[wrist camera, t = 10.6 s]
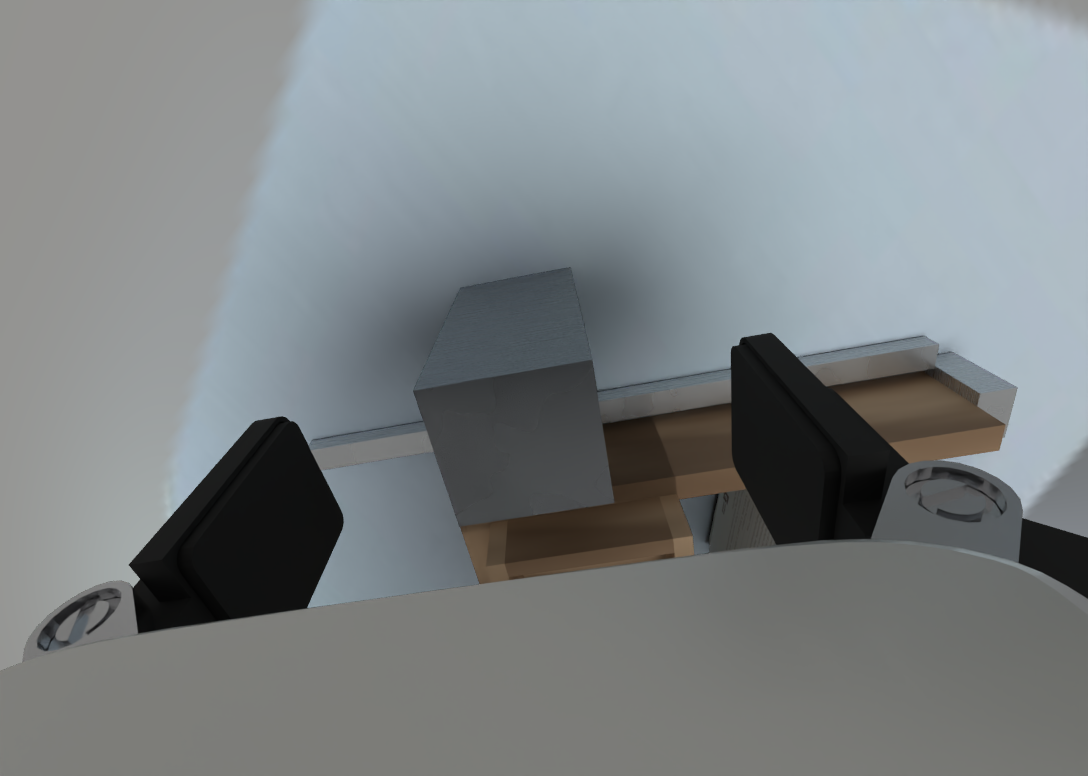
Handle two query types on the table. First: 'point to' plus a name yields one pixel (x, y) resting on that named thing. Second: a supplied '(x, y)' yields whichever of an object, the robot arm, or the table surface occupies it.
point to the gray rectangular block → (515, 402)
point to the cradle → (706, 478)
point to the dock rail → (716, 396)
